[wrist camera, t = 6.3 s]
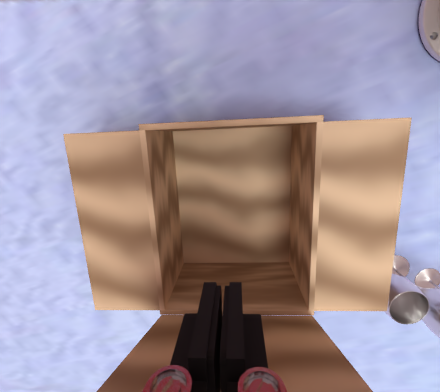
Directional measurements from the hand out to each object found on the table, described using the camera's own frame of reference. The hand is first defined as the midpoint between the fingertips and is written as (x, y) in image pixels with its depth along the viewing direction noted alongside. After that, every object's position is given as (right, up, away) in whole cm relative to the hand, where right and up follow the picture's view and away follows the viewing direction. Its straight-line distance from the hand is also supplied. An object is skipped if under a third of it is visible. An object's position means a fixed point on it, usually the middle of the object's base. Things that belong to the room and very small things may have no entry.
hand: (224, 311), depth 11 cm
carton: (+2, +5, +28) cm, 28 cm away
